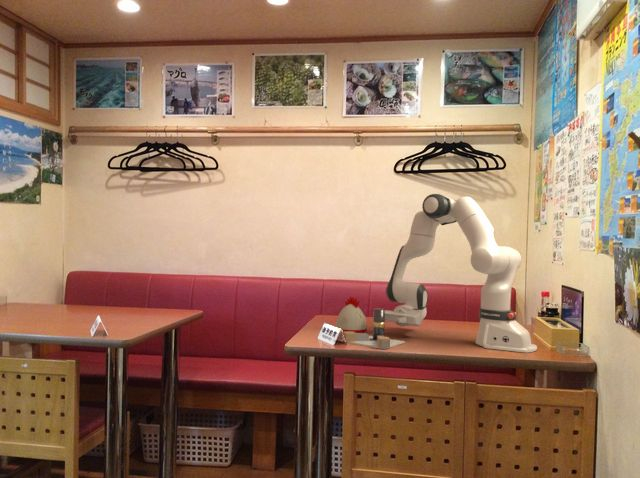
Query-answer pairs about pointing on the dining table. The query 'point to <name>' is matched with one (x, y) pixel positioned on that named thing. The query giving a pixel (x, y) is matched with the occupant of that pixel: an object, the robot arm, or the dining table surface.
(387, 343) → the grey plate with blocks
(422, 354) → the dining table surface
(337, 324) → the kitchen timer
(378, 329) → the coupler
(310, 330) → the dining table surface
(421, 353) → the dining table surface
